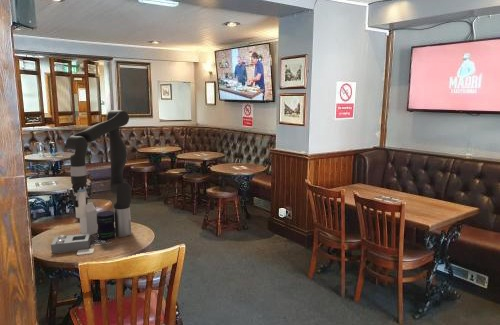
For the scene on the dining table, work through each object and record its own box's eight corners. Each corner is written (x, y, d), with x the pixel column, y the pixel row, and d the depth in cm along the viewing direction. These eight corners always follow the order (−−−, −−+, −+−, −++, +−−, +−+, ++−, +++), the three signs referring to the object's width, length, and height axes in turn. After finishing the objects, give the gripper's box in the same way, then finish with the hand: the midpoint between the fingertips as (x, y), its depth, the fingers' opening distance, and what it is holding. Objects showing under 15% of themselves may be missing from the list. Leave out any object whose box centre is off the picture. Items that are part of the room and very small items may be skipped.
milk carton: (98, 232, 224) (96, 203, 220) (87, 236, 218) (85, 205, 215) (91, 230, 227) (89, 201, 224) (80, 233, 221) (78, 203, 218)
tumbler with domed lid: (81, 214, 195) (79, 186, 193) (89, 215, 193) (87, 187, 191) (73, 217, 190) (71, 188, 188) (81, 218, 188) (79, 189, 186)
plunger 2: (64, 248, 198) (63, 239, 197) (63, 250, 195) (62, 241, 194) (58, 249, 197) (57, 239, 196) (57, 251, 194) (56, 241, 193)
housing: (90, 241, 209) (89, 233, 208) (88, 249, 198) (87, 240, 197) (55, 245, 203) (55, 236, 203) (51, 253, 192) (50, 244, 191)
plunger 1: (66, 243, 204) (65, 234, 203) (65, 245, 201) (64, 236, 200) (60, 244, 203) (59, 235, 202) (59, 246, 200) (58, 237, 199)
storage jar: (115, 233, 222) (114, 210, 219) (115, 239, 212) (113, 215, 210) (98, 235, 218) (96, 211, 216) (97, 241, 209) (95, 216, 207)
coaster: (94, 249, 198) (94, 248, 198) (93, 253, 192) (93, 252, 192) (78, 251, 195) (78, 250, 195) (76, 255, 190) (76, 254, 190)
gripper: (72, 177, 180) (74, 210, 183) (94, 172, 193) (96, 203, 196) (61, 176, 183) (64, 208, 186) (84, 171, 196) (86, 201, 199)
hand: (80, 205), depth 191 cm, fingers closed on tumbler with domed lid, 5 cm apart
